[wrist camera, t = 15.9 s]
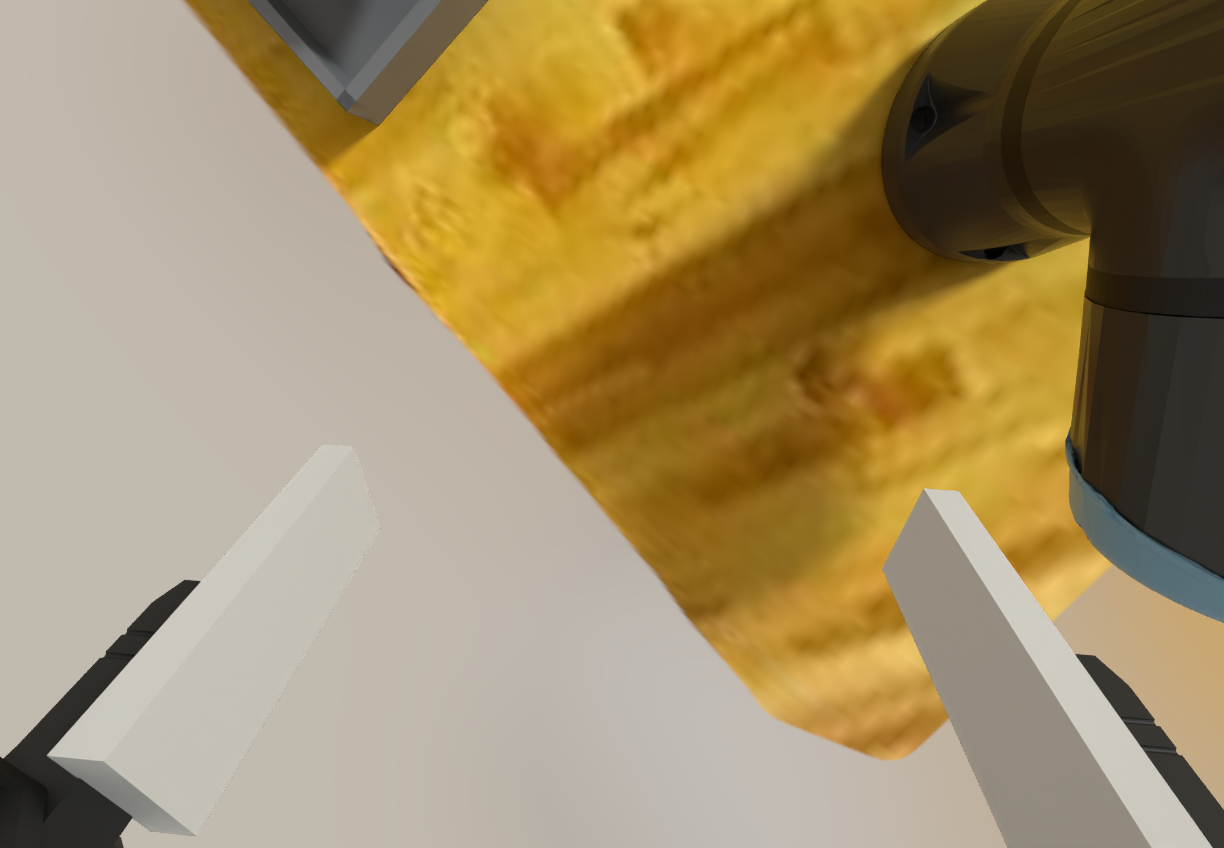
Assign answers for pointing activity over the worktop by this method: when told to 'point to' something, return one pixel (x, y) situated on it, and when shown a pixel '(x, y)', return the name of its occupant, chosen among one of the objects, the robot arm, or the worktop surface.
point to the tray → (368, 44)
